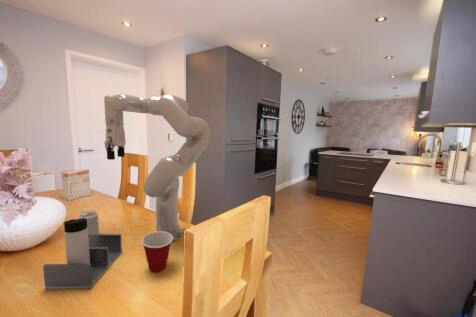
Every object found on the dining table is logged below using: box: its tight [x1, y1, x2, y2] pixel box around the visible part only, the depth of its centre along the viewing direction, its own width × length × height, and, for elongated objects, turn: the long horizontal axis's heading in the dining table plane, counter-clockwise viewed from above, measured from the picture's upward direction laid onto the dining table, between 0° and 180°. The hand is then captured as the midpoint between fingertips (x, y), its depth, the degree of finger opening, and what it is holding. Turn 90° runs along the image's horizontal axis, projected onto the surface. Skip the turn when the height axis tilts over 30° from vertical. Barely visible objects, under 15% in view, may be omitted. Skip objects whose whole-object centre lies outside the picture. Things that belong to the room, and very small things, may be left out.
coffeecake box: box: [60, 168, 92, 202], centre depth 158 cm, size 15×7×20 cm, turn 157°
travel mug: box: [63, 218, 90, 264], centre depth 74 cm, size 6×7×20 cm
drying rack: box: [42, 233, 123, 290], centre depth 80 cm, size 14×21×8 cm, turn 3°
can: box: [77, 209, 100, 234], centre depth 103 cm, size 8×8×12 cm
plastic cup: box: [141, 231, 173, 274], centre depth 81 cm, size 11×11×12 cm
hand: (116, 158), depth 108 cm, fingers open, 9 cm apart
